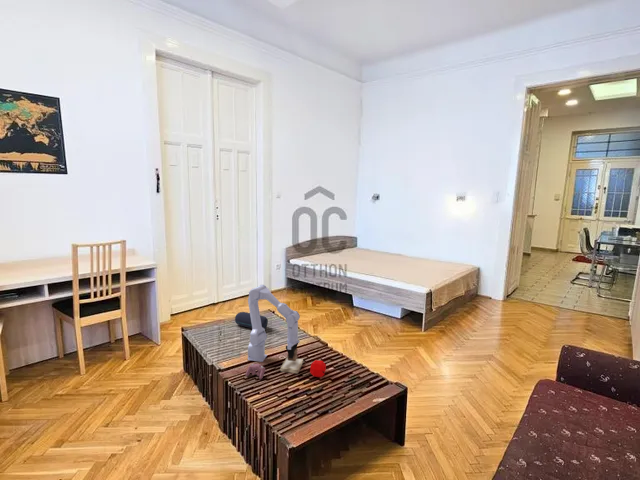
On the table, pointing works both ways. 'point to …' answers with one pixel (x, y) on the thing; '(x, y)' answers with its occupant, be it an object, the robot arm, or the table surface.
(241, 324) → the portable speaker
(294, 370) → the shallow cream tray
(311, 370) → the ball
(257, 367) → the video game controller
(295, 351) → the walnut block
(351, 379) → the table surface
